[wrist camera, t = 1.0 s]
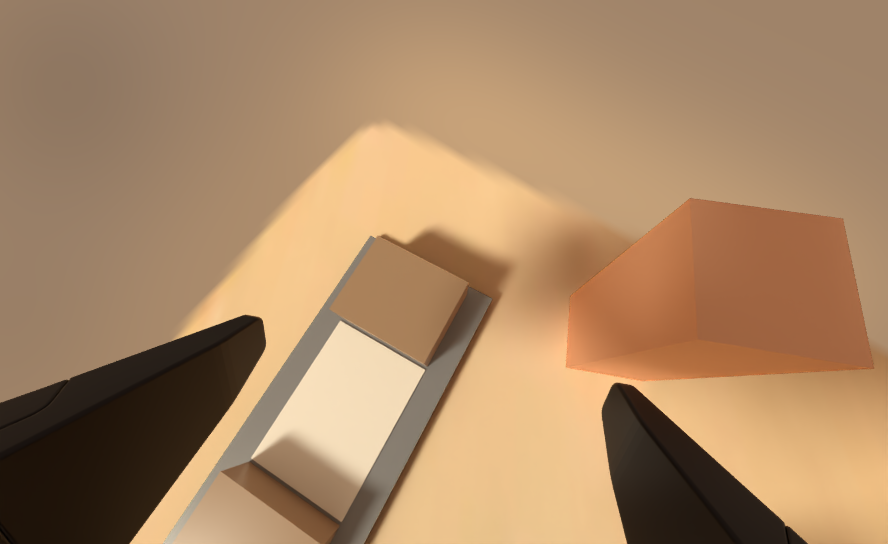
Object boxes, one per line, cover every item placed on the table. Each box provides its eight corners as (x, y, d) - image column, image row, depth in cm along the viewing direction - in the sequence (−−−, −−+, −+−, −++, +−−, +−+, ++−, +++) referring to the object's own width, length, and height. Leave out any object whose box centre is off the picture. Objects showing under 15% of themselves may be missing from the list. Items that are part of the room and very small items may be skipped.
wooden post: (643, 381, 21) (873, 368, 9) (565, 367, 21) (697, 339, 10) (642, 307, 22) (842, 218, 11) (570, 295, 22) (689, 198, 11)
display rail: (306, 654, 17) (273, 713, 14) (169, 544, 19) (112, 575, 15) (491, 301, 22) (497, 287, 19) (373, 240, 24) (361, 218, 21)
